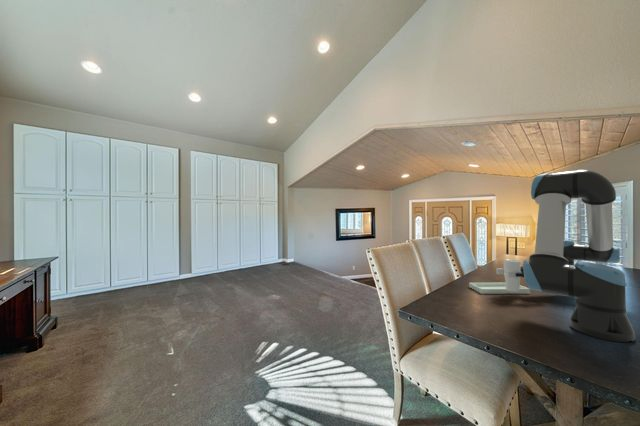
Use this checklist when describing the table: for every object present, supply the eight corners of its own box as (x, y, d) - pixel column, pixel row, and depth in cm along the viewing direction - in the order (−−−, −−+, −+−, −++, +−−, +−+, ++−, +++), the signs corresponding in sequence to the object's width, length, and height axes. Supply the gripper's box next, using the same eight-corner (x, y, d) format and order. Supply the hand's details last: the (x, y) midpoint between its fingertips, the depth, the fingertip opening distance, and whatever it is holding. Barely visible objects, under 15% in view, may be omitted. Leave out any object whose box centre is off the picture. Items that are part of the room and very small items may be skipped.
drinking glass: (514, 293, 120) (513, 262, 120) (500, 289, 126) (500, 259, 126) (524, 292, 122) (524, 261, 122) (510, 288, 128) (510, 259, 128)
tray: (482, 294, 129) (482, 289, 129) (469, 287, 141) (468, 282, 141) (530, 293, 128) (529, 288, 128) (512, 286, 140) (512, 282, 140)
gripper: (566, 284, 116) (519, 286, 114) (528, 274, 135) (487, 275, 133) (566, 268, 116) (519, 269, 114) (528, 260, 135) (487, 261, 133)
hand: (502, 272), depth 124 cm, fingers closed on drinking glass, 6 cm apart
